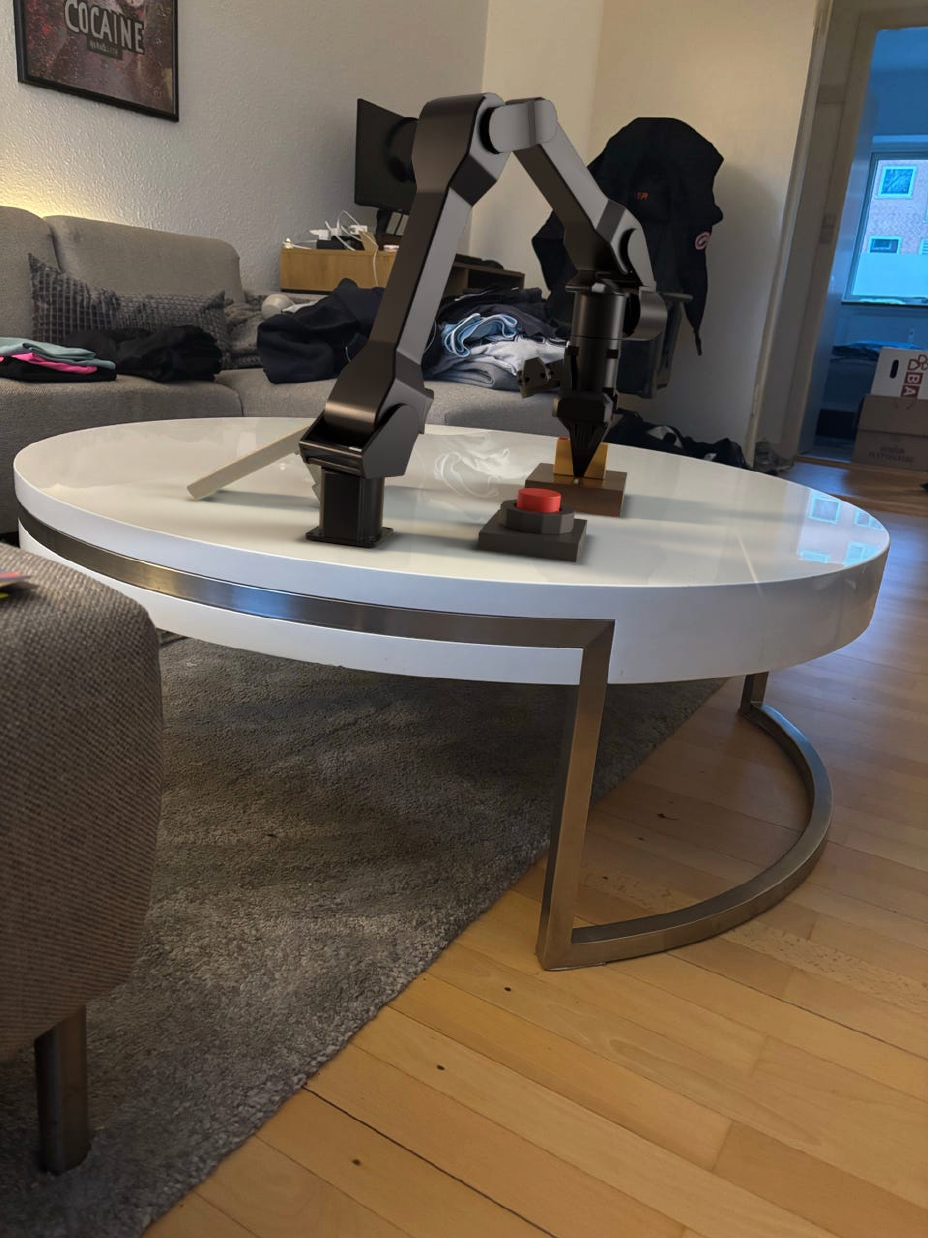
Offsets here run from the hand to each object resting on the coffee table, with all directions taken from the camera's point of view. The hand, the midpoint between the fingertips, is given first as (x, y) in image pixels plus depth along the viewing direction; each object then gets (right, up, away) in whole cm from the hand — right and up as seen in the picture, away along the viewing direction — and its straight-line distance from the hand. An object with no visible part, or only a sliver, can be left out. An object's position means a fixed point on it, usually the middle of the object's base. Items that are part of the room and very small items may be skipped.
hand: (579, 475), depth 108 cm
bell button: (-7, -7, -22) cm, 24 cm away
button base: (-7, -10, -21) cm, 24 cm away
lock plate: (0, -3, +1) cm, 3 cm away
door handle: (-33, -3, -8) cm, 34 cm away
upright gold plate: (0, 0, 0) cm, 0 cm away
